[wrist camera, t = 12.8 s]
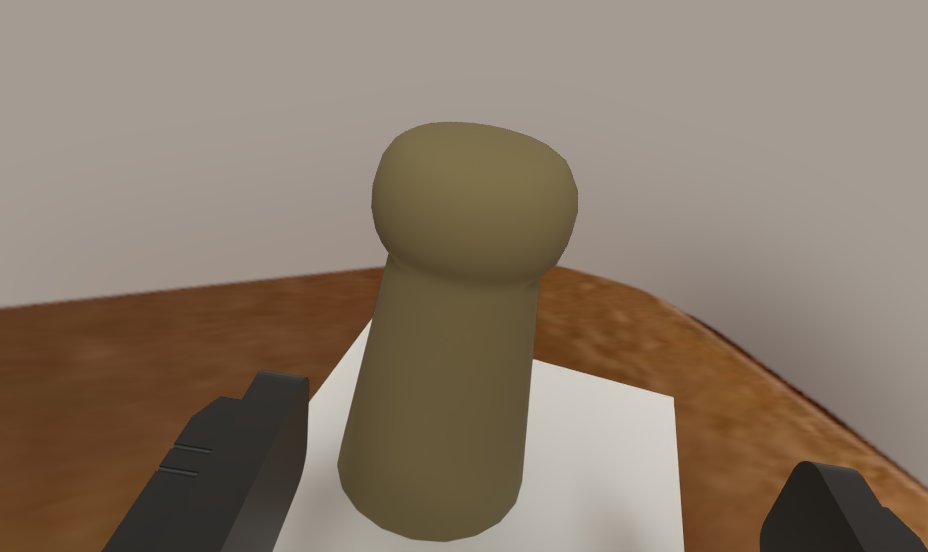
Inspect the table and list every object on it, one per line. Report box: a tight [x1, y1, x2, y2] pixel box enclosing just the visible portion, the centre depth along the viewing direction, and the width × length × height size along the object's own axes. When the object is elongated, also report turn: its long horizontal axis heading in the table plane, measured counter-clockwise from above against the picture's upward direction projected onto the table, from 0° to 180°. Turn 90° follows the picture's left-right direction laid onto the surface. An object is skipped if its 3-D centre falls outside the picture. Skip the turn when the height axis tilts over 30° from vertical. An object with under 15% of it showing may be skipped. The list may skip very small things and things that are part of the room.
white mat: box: [273, 319, 684, 552], centre depth 21 cm, size 13×13×1 cm
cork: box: [337, 122, 578, 542], centre depth 18 cm, size 6×6×11 cm
